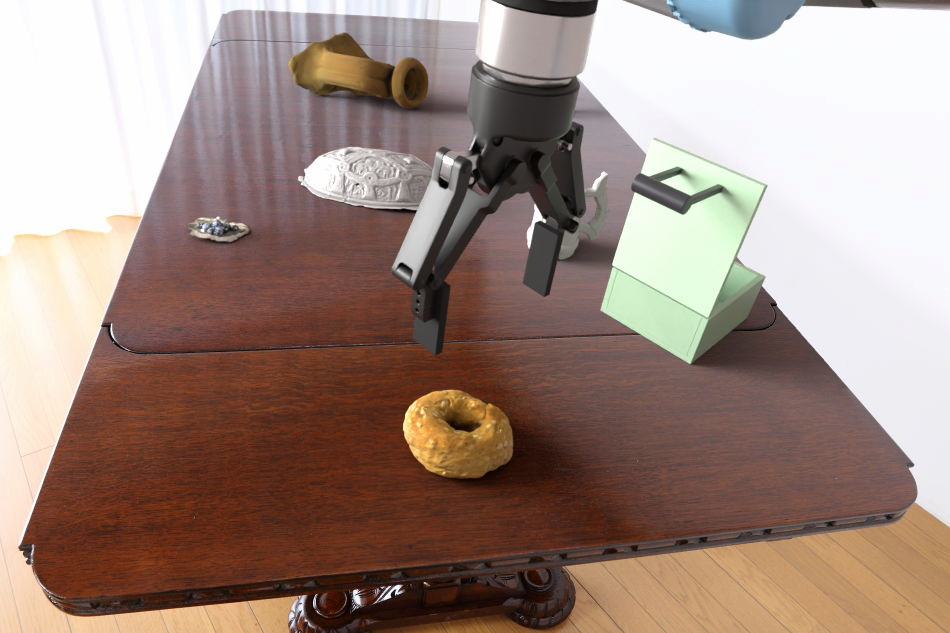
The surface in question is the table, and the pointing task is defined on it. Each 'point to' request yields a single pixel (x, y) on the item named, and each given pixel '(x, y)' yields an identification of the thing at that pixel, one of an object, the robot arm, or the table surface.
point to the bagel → (457, 434)
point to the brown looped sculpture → (358, 72)
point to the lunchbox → (681, 311)
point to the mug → (588, 228)
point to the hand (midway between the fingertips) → (485, 315)
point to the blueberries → (217, 229)
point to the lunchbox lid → (686, 225)
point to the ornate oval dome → (388, 181)
